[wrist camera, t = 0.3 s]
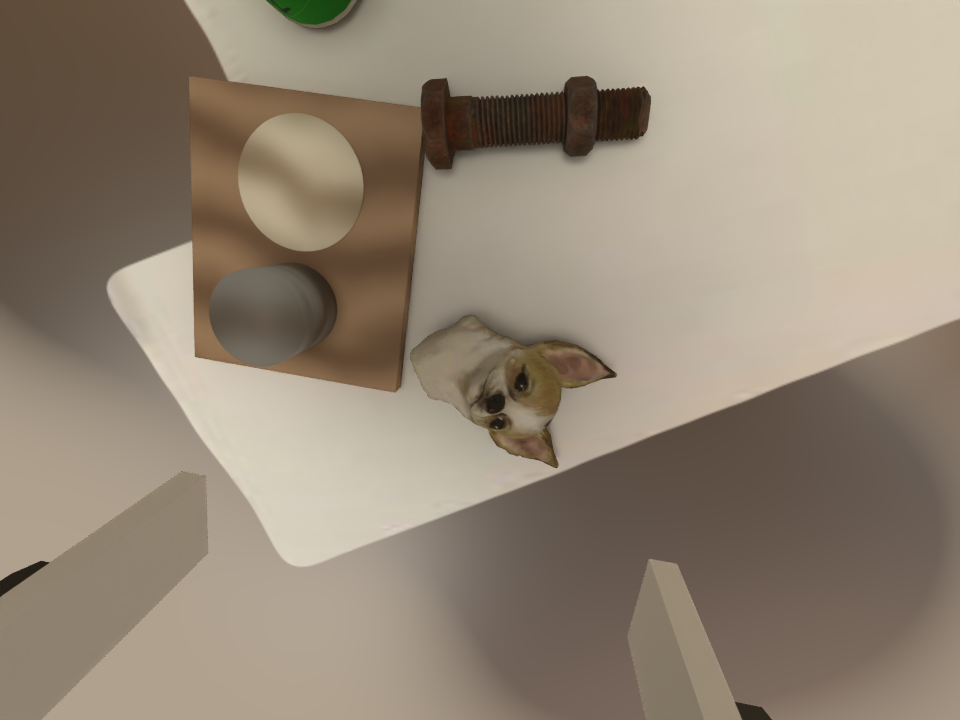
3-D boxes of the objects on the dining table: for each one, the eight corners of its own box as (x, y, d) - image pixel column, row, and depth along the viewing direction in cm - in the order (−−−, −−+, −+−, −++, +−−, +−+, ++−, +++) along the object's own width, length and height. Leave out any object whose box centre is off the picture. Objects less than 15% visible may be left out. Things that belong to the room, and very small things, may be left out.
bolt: (632, 135, 37) (437, 146, 38) (643, 59, 33) (427, 73, 34) (647, 168, 33) (427, 178, 34) (662, 84, 29) (416, 100, 30)
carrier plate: (202, 81, 37) (122, 46, 30) (428, 112, 36) (402, 83, 29) (206, 352, 43) (140, 377, 36) (400, 387, 42) (372, 419, 35)
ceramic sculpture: (438, 290, 31) (640, 395, 32) (454, 273, 39) (613, 356, 40) (373, 424, 34) (560, 515, 35) (400, 382, 42) (550, 456, 43)
